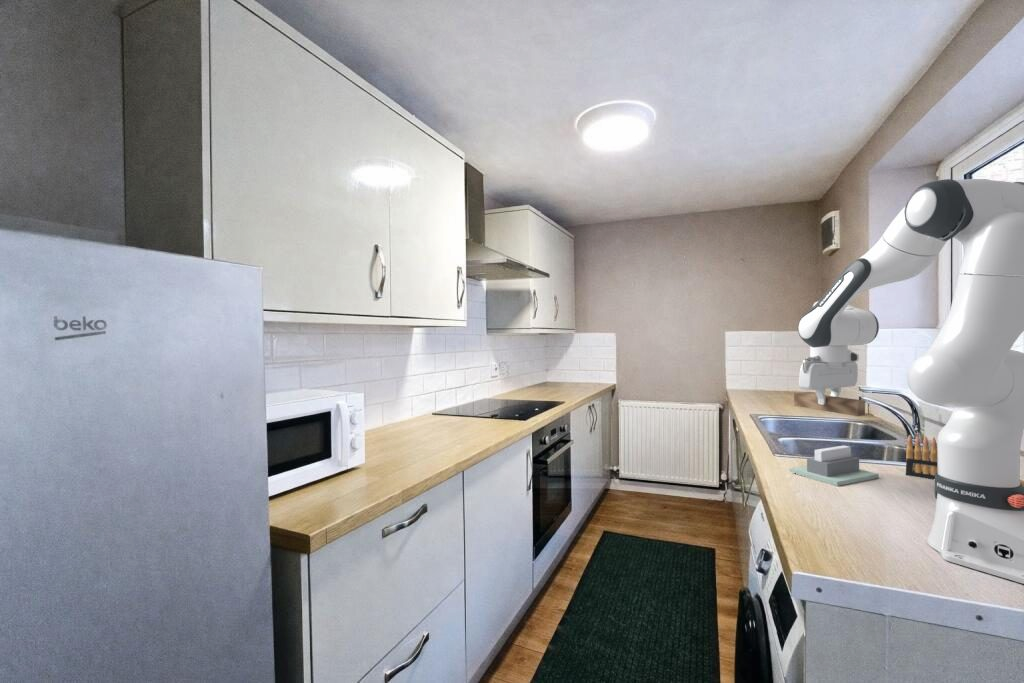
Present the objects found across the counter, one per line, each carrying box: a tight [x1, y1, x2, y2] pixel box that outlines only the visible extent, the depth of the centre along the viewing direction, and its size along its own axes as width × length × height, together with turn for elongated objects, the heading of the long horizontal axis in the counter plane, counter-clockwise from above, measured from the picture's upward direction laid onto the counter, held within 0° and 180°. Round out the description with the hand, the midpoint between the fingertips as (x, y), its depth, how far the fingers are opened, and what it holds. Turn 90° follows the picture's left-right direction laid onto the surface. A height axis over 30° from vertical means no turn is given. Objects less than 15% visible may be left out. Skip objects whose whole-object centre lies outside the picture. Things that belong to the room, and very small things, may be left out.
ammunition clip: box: [905, 434, 938, 480], centre depth 132 cm, size 11×2×12 cm, turn 45°
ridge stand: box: [789, 445, 879, 487], centre depth 136 cm, size 14×18×8 cm
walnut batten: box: [793, 391, 866, 417], centre depth 131 cm, size 18×3×4 cm, turn 22°
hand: (827, 403), depth 131 cm, fingers closed on walnut batten, 3 cm apart
